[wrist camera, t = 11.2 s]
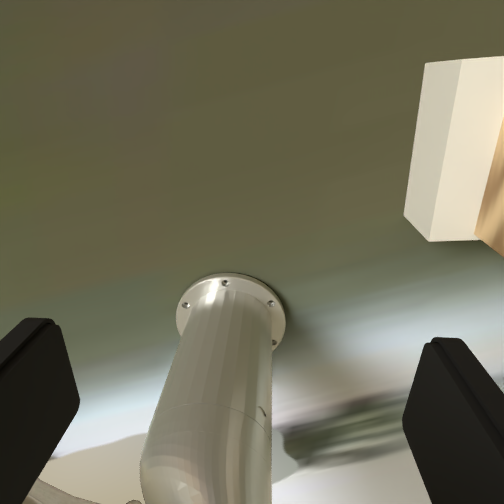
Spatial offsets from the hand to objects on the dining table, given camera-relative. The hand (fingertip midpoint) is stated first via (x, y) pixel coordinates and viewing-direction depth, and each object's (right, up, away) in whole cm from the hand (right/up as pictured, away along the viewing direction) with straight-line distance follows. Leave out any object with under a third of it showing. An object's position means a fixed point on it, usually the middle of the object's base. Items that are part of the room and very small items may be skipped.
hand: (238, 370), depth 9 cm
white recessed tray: (+21, +13, +21) cm, 32 cm away
